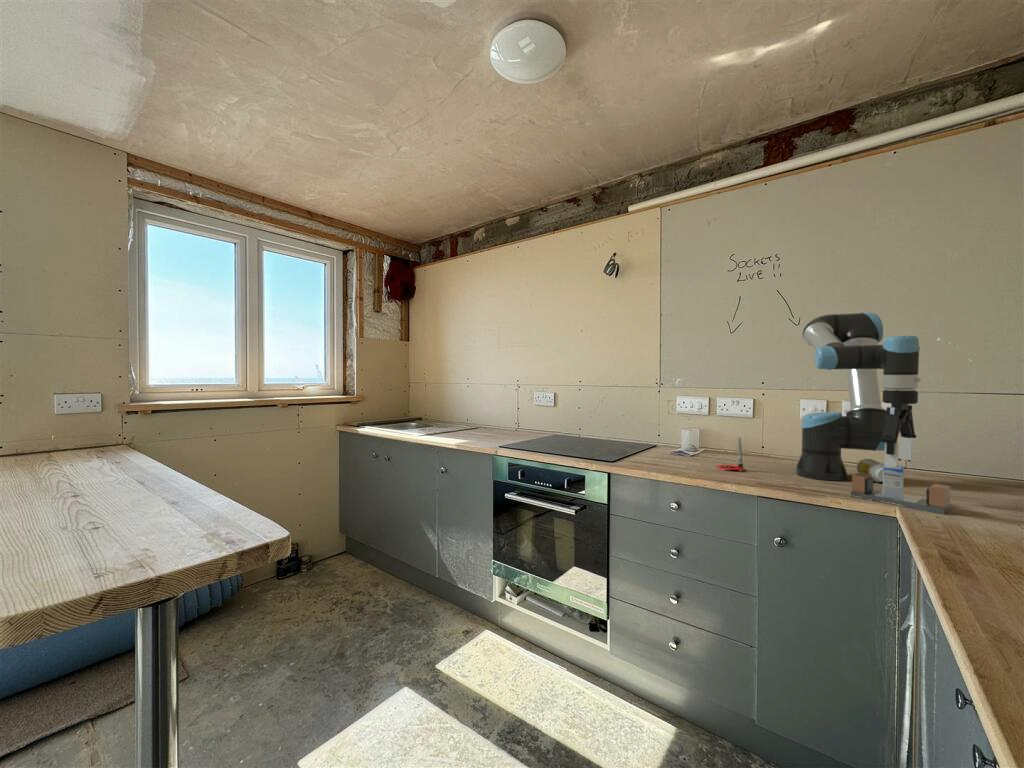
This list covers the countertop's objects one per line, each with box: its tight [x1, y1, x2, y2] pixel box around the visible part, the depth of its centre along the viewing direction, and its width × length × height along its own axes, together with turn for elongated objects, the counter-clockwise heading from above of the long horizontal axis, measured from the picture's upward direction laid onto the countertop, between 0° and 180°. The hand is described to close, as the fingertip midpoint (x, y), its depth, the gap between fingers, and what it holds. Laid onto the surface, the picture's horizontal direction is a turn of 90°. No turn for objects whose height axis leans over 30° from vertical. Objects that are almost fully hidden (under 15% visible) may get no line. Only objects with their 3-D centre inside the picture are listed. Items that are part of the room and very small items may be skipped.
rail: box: [850, 472, 952, 515], centre depth 122 cm, size 20×8×6 cm, turn 34°
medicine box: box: [882, 464, 905, 500], centre depth 123 cm, size 8×4×9 cm, turn 138°
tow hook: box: [716, 436, 744, 472], centre depth 166 cm, size 8×13×9 cm
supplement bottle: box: [856, 458, 884, 483], centre depth 147 cm, size 7×7×13 cm
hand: (898, 462), depth 122 cm, fingers open, 13 cm apart
